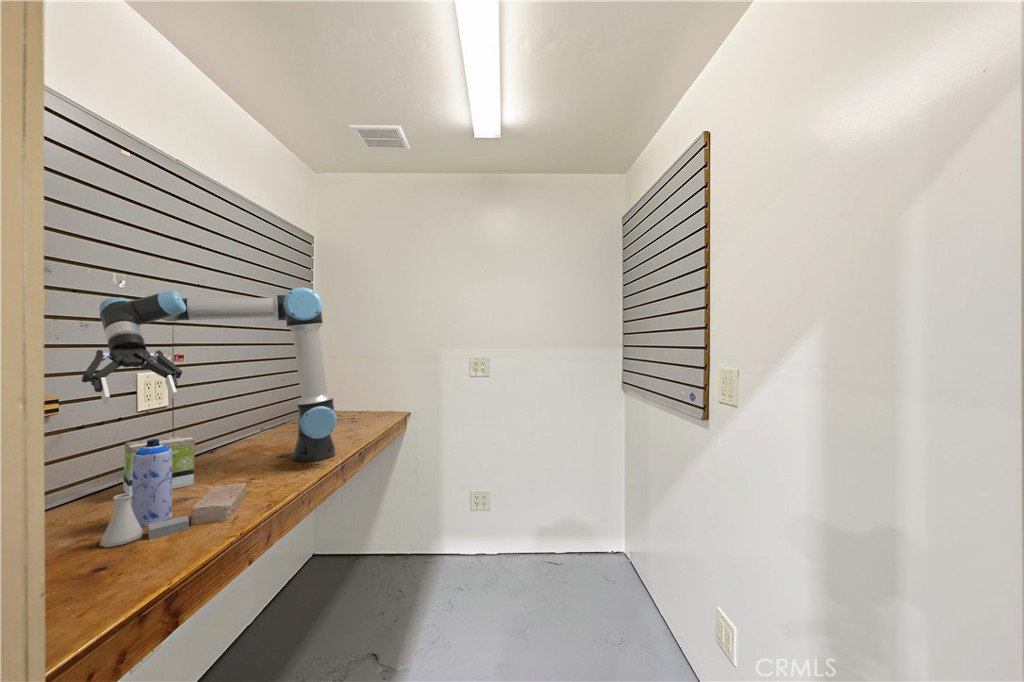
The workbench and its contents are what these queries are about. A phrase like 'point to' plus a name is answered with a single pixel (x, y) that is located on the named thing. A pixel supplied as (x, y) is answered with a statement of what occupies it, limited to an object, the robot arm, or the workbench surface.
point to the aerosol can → (152, 483)
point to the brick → (218, 503)
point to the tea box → (180, 460)
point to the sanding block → (168, 527)
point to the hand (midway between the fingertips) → (142, 397)
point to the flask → (122, 523)
